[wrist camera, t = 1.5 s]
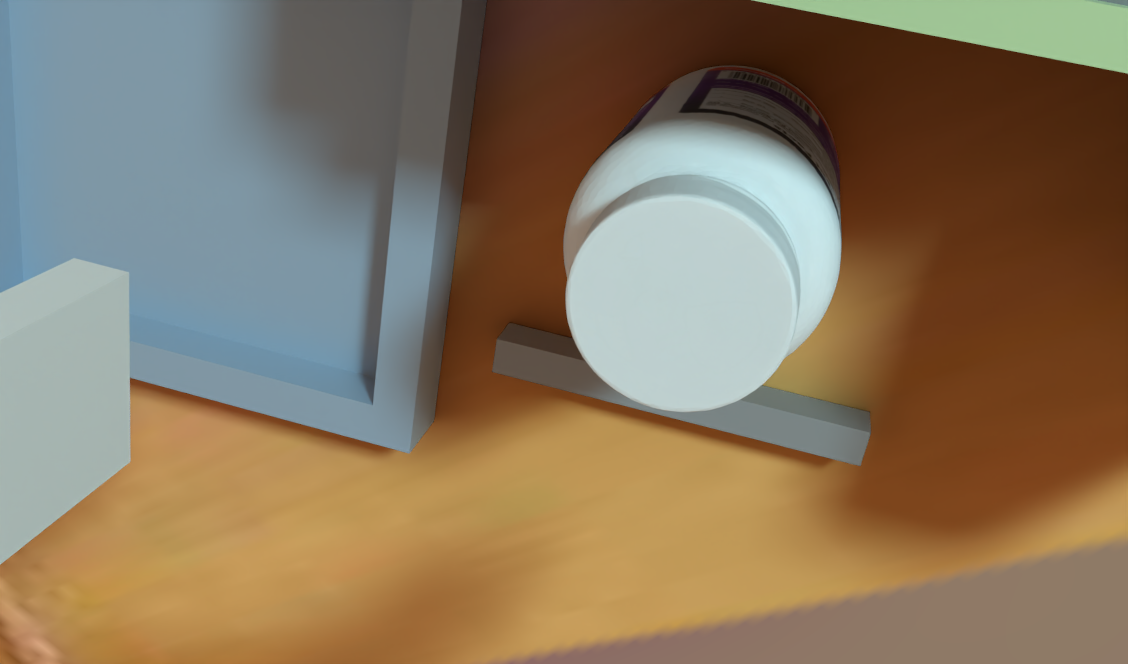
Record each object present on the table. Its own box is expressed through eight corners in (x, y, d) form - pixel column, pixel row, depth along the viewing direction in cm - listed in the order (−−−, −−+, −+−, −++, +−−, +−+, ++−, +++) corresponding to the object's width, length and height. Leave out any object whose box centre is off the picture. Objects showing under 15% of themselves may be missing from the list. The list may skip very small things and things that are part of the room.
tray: (2, 306, 34) (-45, 330, 32) (-30, -197, 28) (-89, -203, 26) (433, 421, 32) (409, 453, 30) (499, -98, 26) (473, -97, 24)
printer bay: (470, 346, 30) (302, 555, 21) (570, -376, 23) (382, -558, 14) (1253, 544, 27) (1473, 895, 18) (1647, -219, 20) (2371, -313, 11)
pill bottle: (671, 300, 29) (596, 483, 20) (590, 111, 27) (471, 219, 18) (872, 232, 27) (887, 400, 18) (796, 25, 25) (773, 99, 17)
